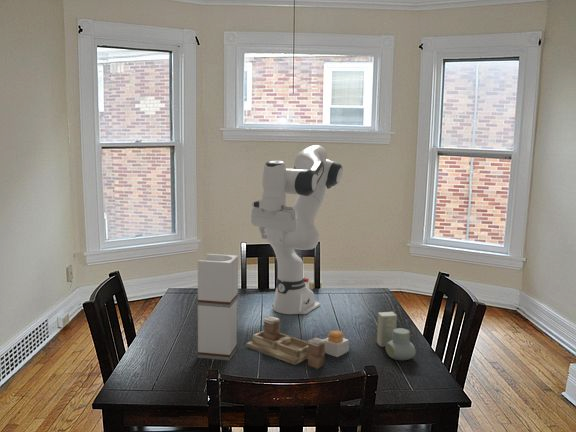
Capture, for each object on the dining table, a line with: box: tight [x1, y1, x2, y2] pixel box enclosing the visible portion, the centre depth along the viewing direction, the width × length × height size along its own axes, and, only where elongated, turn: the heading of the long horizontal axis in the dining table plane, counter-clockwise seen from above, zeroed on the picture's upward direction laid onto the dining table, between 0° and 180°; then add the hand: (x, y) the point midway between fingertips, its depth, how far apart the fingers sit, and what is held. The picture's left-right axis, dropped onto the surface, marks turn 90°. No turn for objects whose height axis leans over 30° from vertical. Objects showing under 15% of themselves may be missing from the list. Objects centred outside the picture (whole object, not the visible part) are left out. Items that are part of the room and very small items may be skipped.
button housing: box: [322, 337, 350, 358], centre depth 209 cm, size 7×7×4 cm
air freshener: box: [385, 327, 417, 361], centre depth 205 cm, size 11×8×10 cm
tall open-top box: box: [197, 253, 239, 362], centre depth 203 cm, size 11×11×35 cm
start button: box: [327, 329, 344, 343], centre depth 208 cm, size 5×5×3 cm
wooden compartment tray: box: [246, 316, 309, 366], centre depth 209 cm, size 14×23×10 cm, turn 50°
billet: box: [307, 337, 326, 369], centre depth 197 cm, size 4×4×9 cm
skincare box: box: [376, 311, 398, 347], centre depth 216 cm, size 6×4×12 cm
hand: (273, 240), depth 217 cm, fingers open, 8 cm apart
